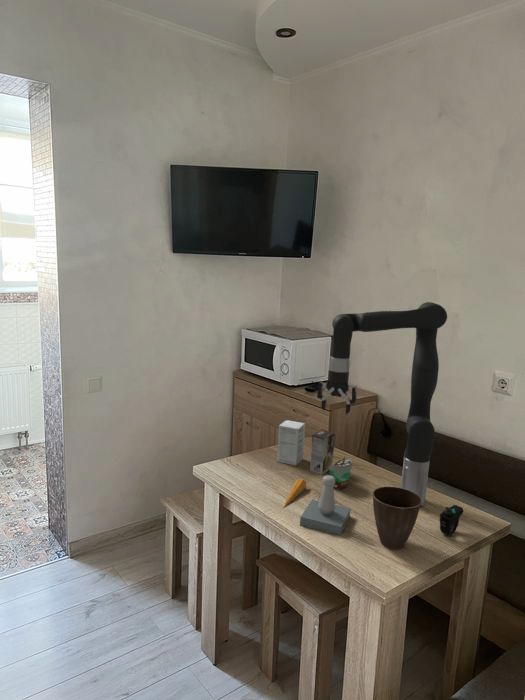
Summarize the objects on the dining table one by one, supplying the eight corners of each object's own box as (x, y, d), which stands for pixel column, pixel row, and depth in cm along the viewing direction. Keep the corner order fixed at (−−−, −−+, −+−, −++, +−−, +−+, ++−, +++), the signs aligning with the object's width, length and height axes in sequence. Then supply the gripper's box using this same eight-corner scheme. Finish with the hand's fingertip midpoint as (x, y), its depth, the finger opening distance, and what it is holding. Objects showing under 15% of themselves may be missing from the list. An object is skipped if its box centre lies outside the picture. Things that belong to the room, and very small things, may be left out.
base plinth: (349, 516, 179) (350, 508, 178) (340, 535, 166) (341, 526, 166) (311, 507, 184) (312, 499, 183) (299, 525, 171) (300, 516, 171)
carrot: (299, 487, 201) (295, 477, 201) (309, 486, 199) (305, 476, 199) (279, 514, 184) (275, 502, 183) (290, 512, 182) (286, 501, 181)
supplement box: (303, 459, 229) (306, 423, 226) (296, 466, 220) (299, 428, 217) (283, 454, 232) (286, 419, 229) (276, 461, 224) (278, 424, 221)
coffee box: (319, 464, 224) (322, 429, 221) (332, 468, 220) (335, 432, 217) (309, 470, 216) (311, 434, 214) (322, 474, 213) (325, 438, 210)
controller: (435, 536, 169) (438, 508, 167) (450, 524, 178) (453, 497, 176) (447, 542, 166) (451, 513, 164) (462, 528, 175) (466, 501, 173)
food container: (341, 493, 196) (343, 469, 195) (327, 488, 200) (329, 464, 198) (356, 483, 206) (358, 460, 204) (342, 479, 210) (344, 456, 208)
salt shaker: (324, 518, 171) (327, 481, 168) (314, 510, 176) (317, 474, 173) (338, 514, 174) (341, 478, 171) (328, 507, 178) (331, 472, 176)
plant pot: (358, 538, 165) (362, 492, 162) (389, 526, 173) (394, 482, 171) (394, 561, 153) (399, 512, 150) (425, 547, 162) (431, 500, 159)
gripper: (360, 369, 187) (356, 412, 190) (322, 364, 192) (319, 406, 195) (356, 373, 180) (352, 417, 183) (317, 368, 185) (314, 411, 188)
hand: (335, 411), depth 189 cm, fingers open, 8 cm apart
